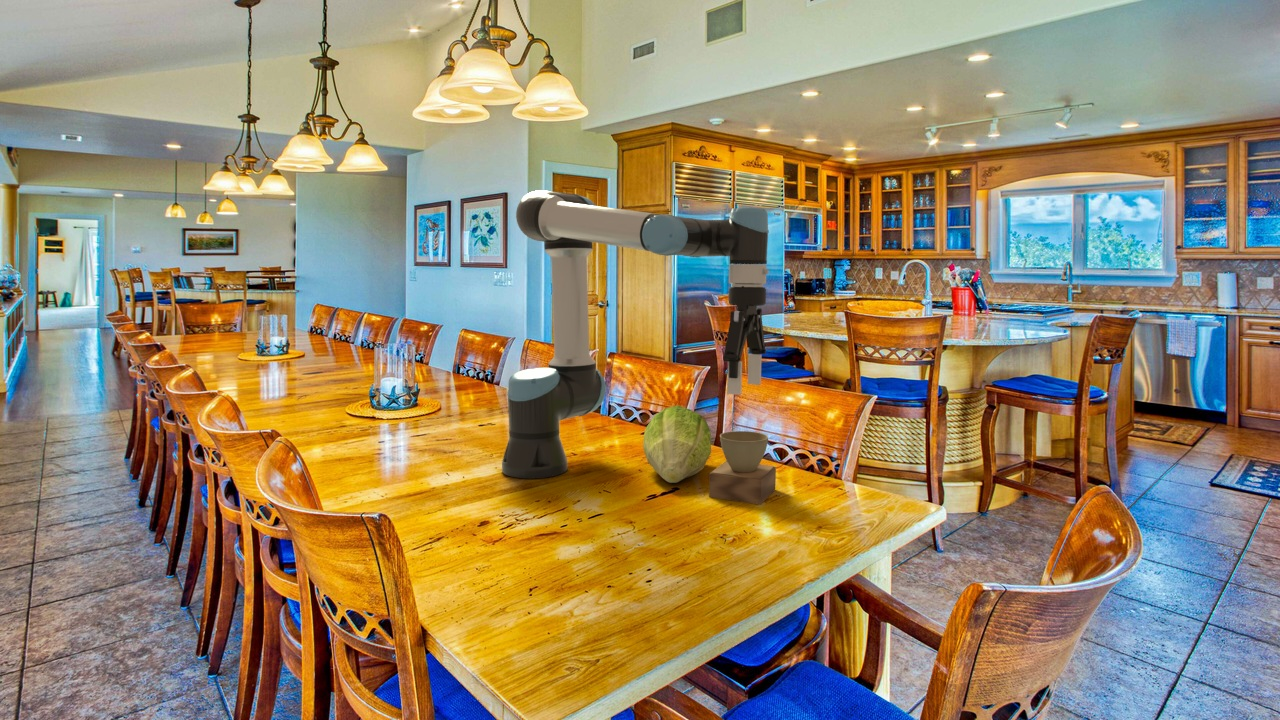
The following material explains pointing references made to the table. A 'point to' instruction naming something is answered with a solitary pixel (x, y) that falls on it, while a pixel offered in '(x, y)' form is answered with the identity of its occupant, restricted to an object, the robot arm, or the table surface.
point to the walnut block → (742, 484)
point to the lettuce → (677, 443)
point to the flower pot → (743, 449)
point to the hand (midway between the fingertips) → (744, 389)
